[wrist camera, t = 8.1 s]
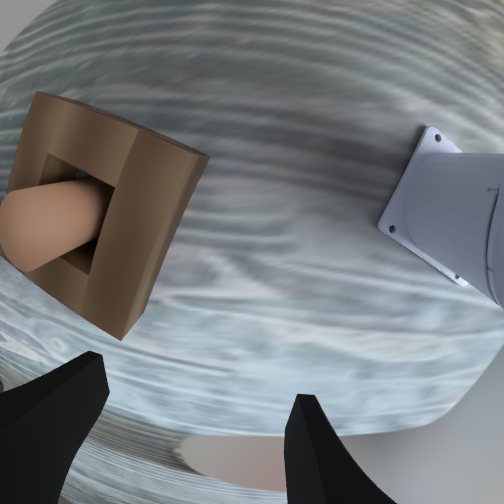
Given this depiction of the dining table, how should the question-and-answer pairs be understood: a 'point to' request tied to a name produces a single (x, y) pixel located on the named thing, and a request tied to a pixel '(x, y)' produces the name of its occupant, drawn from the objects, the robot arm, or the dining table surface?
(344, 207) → the dining table surface
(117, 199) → the socket block
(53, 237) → the peg
